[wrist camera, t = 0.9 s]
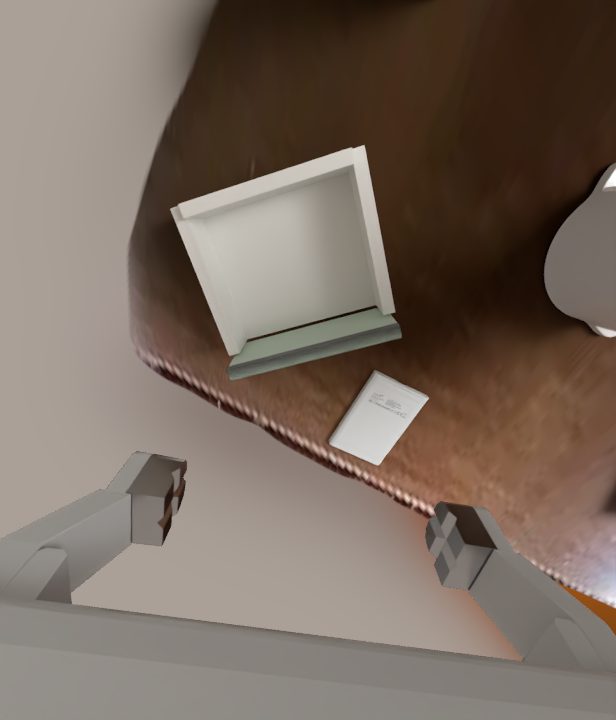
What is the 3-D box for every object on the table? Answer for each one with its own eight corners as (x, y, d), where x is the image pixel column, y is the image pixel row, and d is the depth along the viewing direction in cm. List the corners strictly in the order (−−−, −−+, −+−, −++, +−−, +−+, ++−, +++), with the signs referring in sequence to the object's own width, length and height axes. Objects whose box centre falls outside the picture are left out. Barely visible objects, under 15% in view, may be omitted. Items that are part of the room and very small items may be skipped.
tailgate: (383, 305, 38) (399, 325, 31) (385, 316, 38) (402, 337, 31) (241, 343, 40) (226, 369, 33) (245, 353, 40) (230, 381, 33)
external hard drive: (328, 437, 48) (373, 367, 43) (377, 459, 49) (426, 393, 45) (328, 444, 46) (376, 373, 42) (379, 466, 47) (430, 399, 43)
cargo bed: (356, 157, 34) (366, 142, 27) (383, 299, 39) (397, 314, 33) (192, 210, 36) (165, 208, 29) (240, 337, 41) (227, 359, 35)
